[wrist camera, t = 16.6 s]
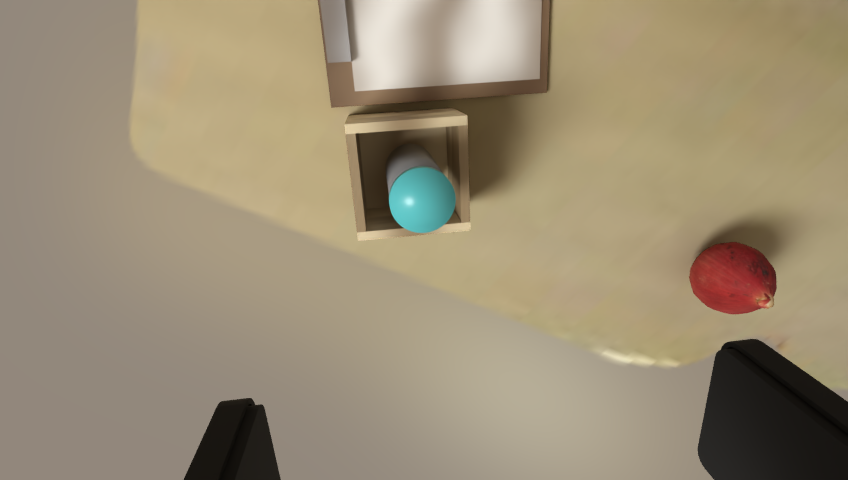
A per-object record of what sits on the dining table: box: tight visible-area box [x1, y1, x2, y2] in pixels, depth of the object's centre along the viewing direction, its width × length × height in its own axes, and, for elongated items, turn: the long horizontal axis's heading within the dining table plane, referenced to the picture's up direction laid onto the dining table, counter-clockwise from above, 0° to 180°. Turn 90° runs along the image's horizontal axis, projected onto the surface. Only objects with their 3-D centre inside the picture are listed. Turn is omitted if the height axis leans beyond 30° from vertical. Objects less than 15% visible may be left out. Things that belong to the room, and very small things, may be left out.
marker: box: [385, 144, 456, 233], centre depth 31 cm, size 4×4×10 cm
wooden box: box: [344, 108, 470, 241], centre depth 33 cm, size 8×8×6 cm
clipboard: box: [318, 0, 550, 108], centre depth 32 cm, size 16×12×1 cm
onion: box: [689, 242, 776, 314], centre depth 38 cm, size 6×6×8 cm
